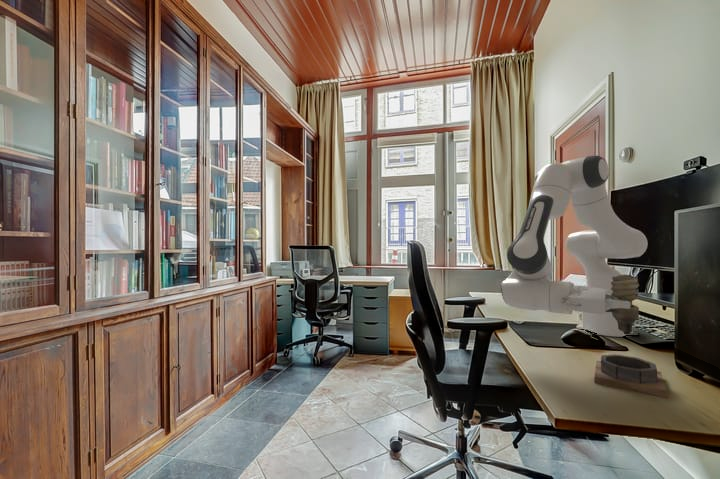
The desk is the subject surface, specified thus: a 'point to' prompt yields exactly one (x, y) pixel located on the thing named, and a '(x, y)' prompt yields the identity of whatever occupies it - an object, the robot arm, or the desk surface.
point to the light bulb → (625, 290)
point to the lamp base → (630, 374)
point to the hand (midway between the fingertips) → (629, 302)
